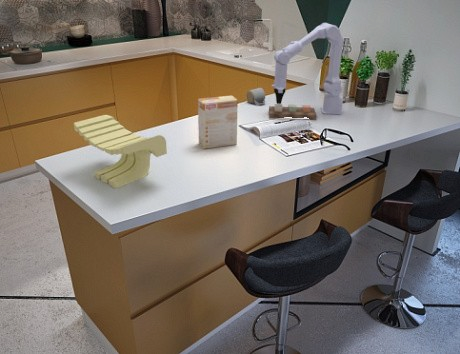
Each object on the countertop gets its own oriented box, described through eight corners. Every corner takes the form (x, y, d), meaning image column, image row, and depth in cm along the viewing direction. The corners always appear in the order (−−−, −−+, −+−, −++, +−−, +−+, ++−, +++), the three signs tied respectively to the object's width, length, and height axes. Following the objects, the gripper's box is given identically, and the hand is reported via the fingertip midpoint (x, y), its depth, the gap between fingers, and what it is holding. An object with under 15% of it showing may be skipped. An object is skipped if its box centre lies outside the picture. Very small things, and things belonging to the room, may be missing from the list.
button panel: (313, 112, 223) (313, 107, 222) (316, 120, 212) (316, 115, 211) (268, 110, 224) (269, 106, 223) (269, 118, 213) (269, 113, 212)
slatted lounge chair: (168, 180, 151) (165, 132, 143) (130, 196, 140) (125, 145, 132) (117, 156, 169) (112, 112, 161) (80, 169, 158) (73, 122, 150)
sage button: (295, 110, 219) (296, 104, 217) (296, 112, 215) (296, 107, 214) (288, 110, 219) (288, 104, 218) (288, 112, 216) (289, 106, 214)
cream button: (281, 110, 219) (282, 104, 218) (282, 112, 216) (282, 106, 214) (274, 109, 219) (274, 104, 218) (274, 112, 216) (274, 106, 215)
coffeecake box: (231, 139, 188) (232, 95, 179) (237, 144, 182) (238, 99, 173) (198, 143, 183) (197, 98, 174) (203, 149, 177) (202, 103, 168)
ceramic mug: (245, 101, 238) (245, 88, 234) (257, 99, 242) (258, 86, 238) (256, 107, 230) (257, 93, 227) (268, 104, 234) (269, 91, 231)
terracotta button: (309, 111, 218) (310, 105, 217) (310, 113, 215) (310, 107, 214) (302, 110, 219) (302, 105, 217) (302, 113, 215) (303, 107, 214)
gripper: (272, 72, 216) (270, 99, 222) (272, 79, 203) (271, 107, 209) (286, 73, 216) (284, 99, 222) (287, 80, 203) (285, 108, 209)
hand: (278, 103), depth 216 cm, fingers closed
